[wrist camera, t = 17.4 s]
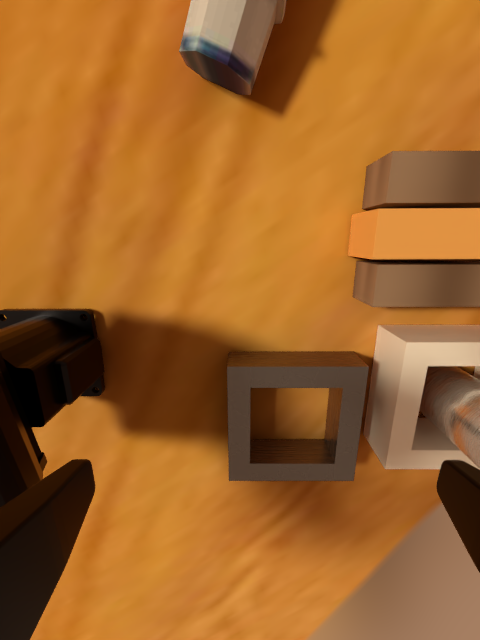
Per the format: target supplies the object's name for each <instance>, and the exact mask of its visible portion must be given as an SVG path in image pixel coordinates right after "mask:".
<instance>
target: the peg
mask: <svg viewBox="0 0 480 640" xmlns="http://www.w3.org/2000/svg"><path fill="white" fill-rule="evenodd" d="M419 411H420V412H421V413H422V414H423V415H424V416H425V417H427V418H428V419H429V420H430V421H431V422H432V423H433V424H434V425H435V426H436V427H437V428H438V429H439V430H440V431H441V432H442V433H443V434H444V435H445V436H446V437H447V438H448V439H449V440H450V441H451V442H452V443H454V444H455V445H456V446H457V447H458V448H459V449H460V450H461V451H462V452H463V453H464V454H465V455H466V456H467V457H468V458H469V459H470V460H471V461H472V462H473V463H474V464H475V465H476V466H477V467H478V468H480V380H479V379H477V378H475V377H474V376H472V375H470V374H468V373H467V372H465V371H463V370H462V369H460V368H458V367H457V366H428V368H427V373H426V378H425V383H424V388H423V393H422V399H421V404H420V409H419Z"/></svg>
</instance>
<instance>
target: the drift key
mask: <svg viewBox="0 0 480 640" xmlns="http://www.w3.org/2000/svg"><path fill="white" fill-rule="evenodd" d="M348 256H353V257H360V258H367V259H480V208H399V209H375V210H370V211H366V212H362V213H357V214H353V215H352V221H351V231H350V241H349V251H348Z"/></svg>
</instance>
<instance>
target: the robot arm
mask: <svg viewBox="0 0 480 640" xmlns="http://www.w3.org/2000/svg"><path fill="white" fill-rule="evenodd" d="M83 314H86V315H87V317H88V318H87V319H85V318H84V317H83ZM4 315H5V316H6V317H7V319H6V318H5V317H4ZM103 373H104V365H103V358H102V351H101V345H100V340H99V339H98V338H97V332H96V325H95V319H94V314H93V312H92V311H91V310H89V309H3V310H0V640H30V638H31V636H32V634H33V632H34V630H35V628H36V626H37V624H38V622H39V620H40V618H41V616H42V614H43V612H44V610H45V608H46V606H47V604H48V602H49V599H50V597H51V595H52V593H53V591H54V589H55V587H56V585H57V583H58V581H59V579H60V577H61V575H62V573H63V571H64V568H65V566H66V564H67V562H68V559H69V557H70V554H71V552H72V549H73V547H74V544H75V542H76V539H77V537H78V534H79V531H80V529H81V526H82V524H83V521H84V519H85V516H86V514H87V511H88V508H89V506H90V503H91V501H92V498H93V496H94V492H95V481H94V475H93V470H92V464H91V462H90V461H89V460H87V459H75V460H71V461H70V462H68V463H67V464H65V465H64V466H62V467H61V468H59V469H57V470H56V471H54V472H53V473H51V474H50V475H48V476H47V477H45V478H44V479H43V470H44V468H45V465H46V463H47V459H46V457H45V454H44V453H43V452H41V451H40V448H39V446H38V443H37V441H36V438H35V436H34V433H33V431H32V427H43V426H44V425H45V424H46V423H47V422H48V421H49V420H51V419H52V418H53V417H54V416H55V415H56V414H57V413H58V412H59V411H60V410H61V409H62V408H63V407H64V406H65V405H70V404H72V403H73V402H74V401H75V400H76V399H77V398H78V397H79V396H99V395H101V394H102V393H103V392H104V390H105V385H104V379H103ZM95 387H97V388H98V389H99V390H96V389H95ZM437 492H438V495H439V497H440V499H441V501H442V503H443V505H444V507H445V509H446V511H447V512H448V514H449V516H450V518H451V520H452V522H453V524H454V526H455V528H456V530H457V531H458V534H459V536H460V537H461V539H462V541H463V543H464V545H465V547H466V549H467V551H468V553H469V554H470V556H471V558H472V560H473V562H474V564H475V566H476V567H477V569H478V571H479V572H480V470H479V469H477V468H476V467H474V466H472V465H470V464H468V463H467V462H465V461H462V460H444V461H443V462H442V464H441V468H440V473H439V477H438V481H437Z"/></svg>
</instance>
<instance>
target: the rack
mask: <svg viewBox="0 0 480 640" xmlns="http://www.w3.org/2000/svg"><path fill="white" fill-rule="evenodd" d="M428 366H476V367H475V371H474V375H473V376H474V377H475V378H477V379H479V380H480V325H378V331H377V338H376V345H375V352H374V360H373V367H372V374H371V381H370V389H369V396H368V403H367V410H366V418H365V425H364V432H363V435H364V436H365V438H366V439H367V441H368V443H369V444H370V446H371V447H372V449H373V451H374V452H375V454H376V455H377V457H378V459H379V460H380V462H381V463H382V465H383V467H384V468H385V469H440V468H441V464H442V462H443V461H444V460H462V461H465V462H467V463H468V464H470V465H472V466H474V467H476V468H477V469H480V468H478V467H477V466H476V465H475V464H474V463H473V462H472V461H471V460H470V459H469V458H468V457H467V456H466V455H465V454H464V453H463V452H462V451H461V450H460V449H459V448H458V447H457V446H456V445H455V444H454V443H452V442H451V441H450V440H449V439H448V438H447V437H446V436H445V435H444V434H443V433H442V432H441V431H440V430H439V429H438V428H437V427H436V426H435V425H434V424H433V423H432V422H431V421H430V420H429V419H428V418H418V414H419V409H420V404H421V399H422V393H423V388H424V383H425V378H426V373H427V368H428Z"/></svg>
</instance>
